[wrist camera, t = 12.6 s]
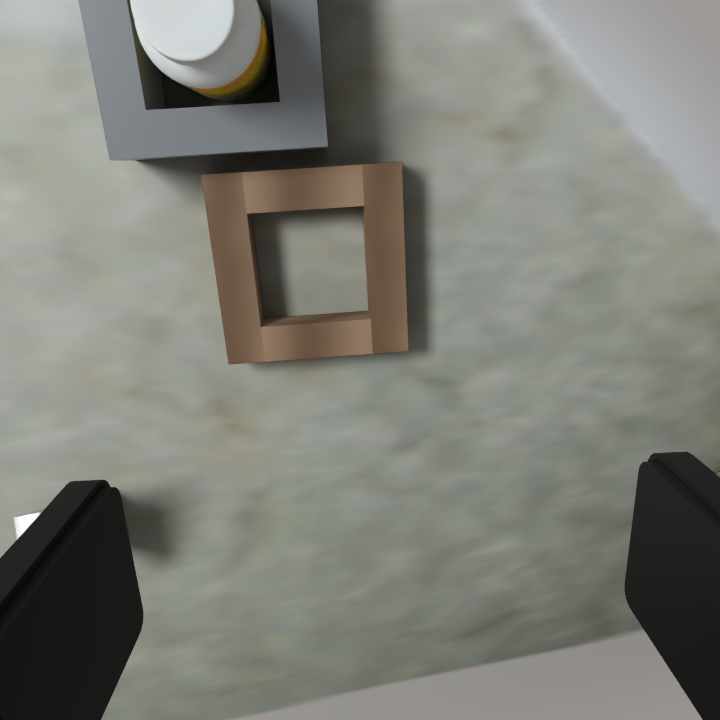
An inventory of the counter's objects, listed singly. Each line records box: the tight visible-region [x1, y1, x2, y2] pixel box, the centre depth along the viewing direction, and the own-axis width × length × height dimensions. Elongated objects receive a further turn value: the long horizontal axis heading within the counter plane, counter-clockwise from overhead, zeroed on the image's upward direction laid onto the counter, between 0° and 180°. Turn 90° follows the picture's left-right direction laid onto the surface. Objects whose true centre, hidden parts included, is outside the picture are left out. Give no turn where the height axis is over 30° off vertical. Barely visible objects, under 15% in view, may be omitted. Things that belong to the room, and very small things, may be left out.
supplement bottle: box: [130, 0, 272, 101], centre depth 26 cm, size 5×5×10 cm
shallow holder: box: [201, 162, 408, 364], centre depth 34 cm, size 11×11×2 cm
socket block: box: [79, 0, 328, 160], centre depth 29 cm, size 11×11×4 cm
